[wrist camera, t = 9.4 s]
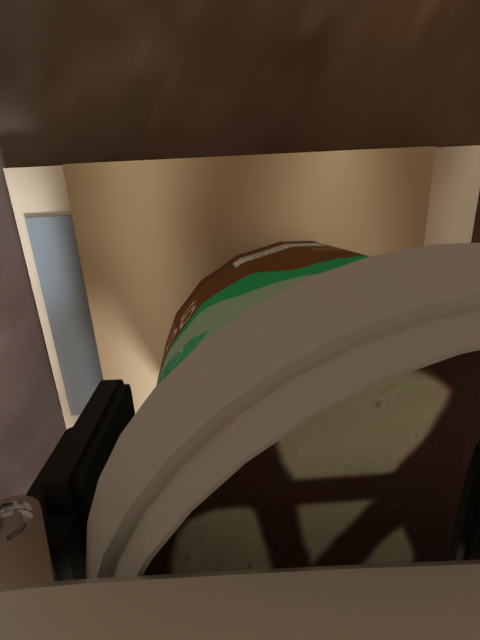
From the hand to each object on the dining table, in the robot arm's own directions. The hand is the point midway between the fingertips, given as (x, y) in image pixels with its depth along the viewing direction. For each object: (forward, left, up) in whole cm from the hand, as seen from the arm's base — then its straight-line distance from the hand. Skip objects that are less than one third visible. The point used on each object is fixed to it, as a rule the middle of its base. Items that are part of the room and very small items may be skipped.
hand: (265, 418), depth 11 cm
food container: (+2, 0, -4) cm, 4 cm away
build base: (0, 0, -10) cm, 10 cm away
